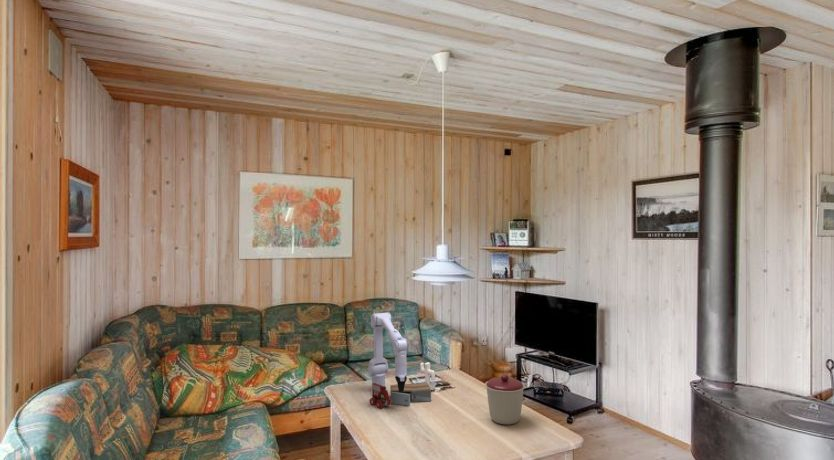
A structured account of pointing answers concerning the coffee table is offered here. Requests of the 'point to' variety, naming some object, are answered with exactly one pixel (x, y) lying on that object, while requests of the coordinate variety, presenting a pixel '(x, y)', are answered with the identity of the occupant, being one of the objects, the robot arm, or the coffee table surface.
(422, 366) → the figurine
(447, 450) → the coffee table surface
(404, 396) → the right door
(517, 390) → the canister
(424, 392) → the cabinet
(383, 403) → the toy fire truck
